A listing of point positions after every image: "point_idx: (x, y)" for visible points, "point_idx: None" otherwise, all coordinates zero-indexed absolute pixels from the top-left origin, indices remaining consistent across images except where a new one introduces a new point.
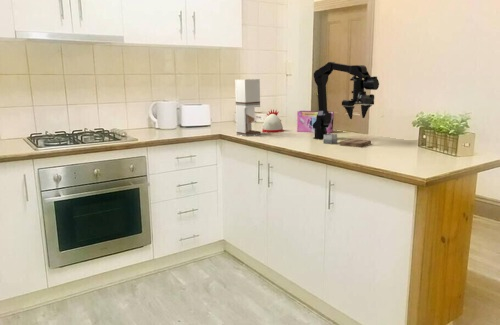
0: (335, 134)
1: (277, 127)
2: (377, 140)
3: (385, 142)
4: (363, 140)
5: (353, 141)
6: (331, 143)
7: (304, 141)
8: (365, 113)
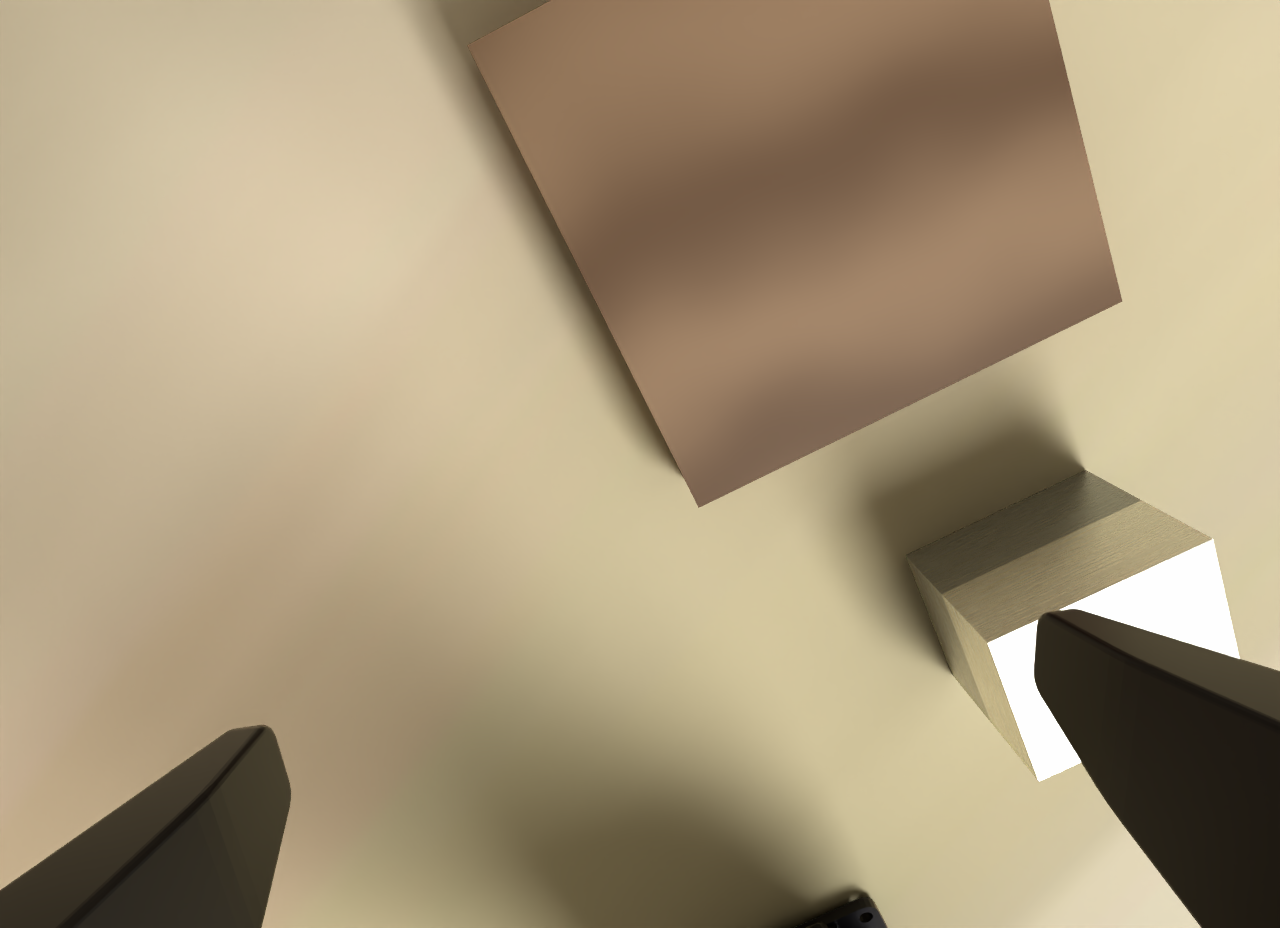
0: (1054, 609)
1: None
2: (35, 408)
3: (3, 78)
4: (625, 153)
5: (904, 161)
6: (1096, 476)
7: None
8: (71, 878)
